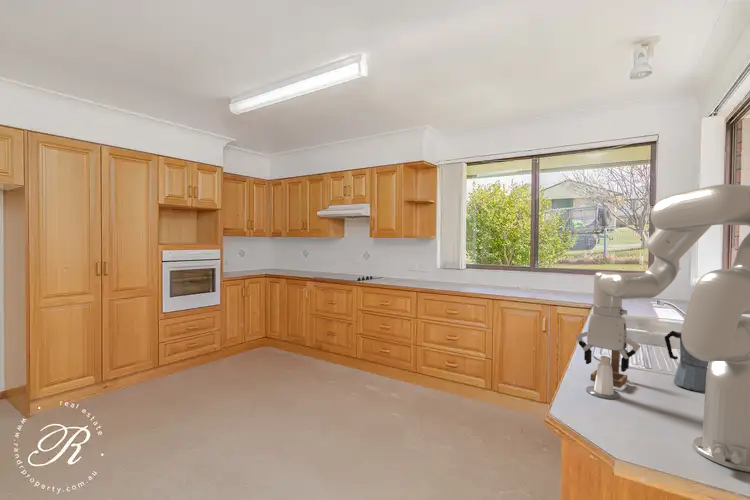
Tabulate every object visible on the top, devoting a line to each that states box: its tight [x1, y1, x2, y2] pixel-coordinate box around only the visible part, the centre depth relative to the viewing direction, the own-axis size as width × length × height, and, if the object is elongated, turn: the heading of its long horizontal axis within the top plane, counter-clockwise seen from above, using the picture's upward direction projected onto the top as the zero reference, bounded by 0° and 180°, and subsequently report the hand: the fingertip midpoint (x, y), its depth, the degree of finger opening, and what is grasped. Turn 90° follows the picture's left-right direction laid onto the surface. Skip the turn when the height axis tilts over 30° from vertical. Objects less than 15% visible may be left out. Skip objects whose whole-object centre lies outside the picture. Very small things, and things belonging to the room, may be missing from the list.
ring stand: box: [590, 350, 628, 389], centre depth 129 cm, size 14×9×16 cm, turn 134°
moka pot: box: [664, 330, 709, 393], centre depth 126 cm, size 10×15×20 cm, turn 78°
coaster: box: [585, 385, 621, 400], centre depth 119 cm, size 9×9×1 cm
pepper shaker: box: [593, 355, 615, 395], centre depth 119 cm, size 5×5×11 cm
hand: (605, 366), depth 118 cm, fingers open, 9 cm apart
